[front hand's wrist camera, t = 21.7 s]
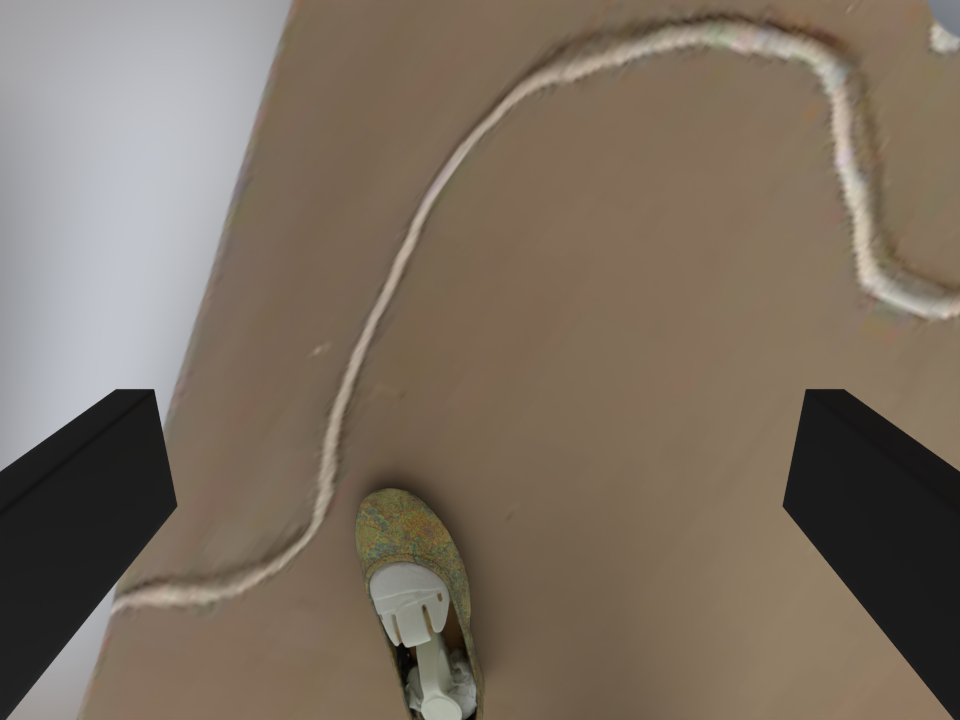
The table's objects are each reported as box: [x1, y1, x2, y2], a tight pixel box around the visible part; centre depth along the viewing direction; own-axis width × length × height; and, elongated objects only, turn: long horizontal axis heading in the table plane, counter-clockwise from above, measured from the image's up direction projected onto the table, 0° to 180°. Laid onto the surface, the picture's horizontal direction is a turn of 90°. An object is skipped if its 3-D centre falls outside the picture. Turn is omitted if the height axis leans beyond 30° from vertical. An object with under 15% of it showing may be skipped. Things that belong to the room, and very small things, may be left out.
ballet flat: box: [355, 488, 485, 720], centre depth 51 cm, size 8×24×8 cm, turn 13°
